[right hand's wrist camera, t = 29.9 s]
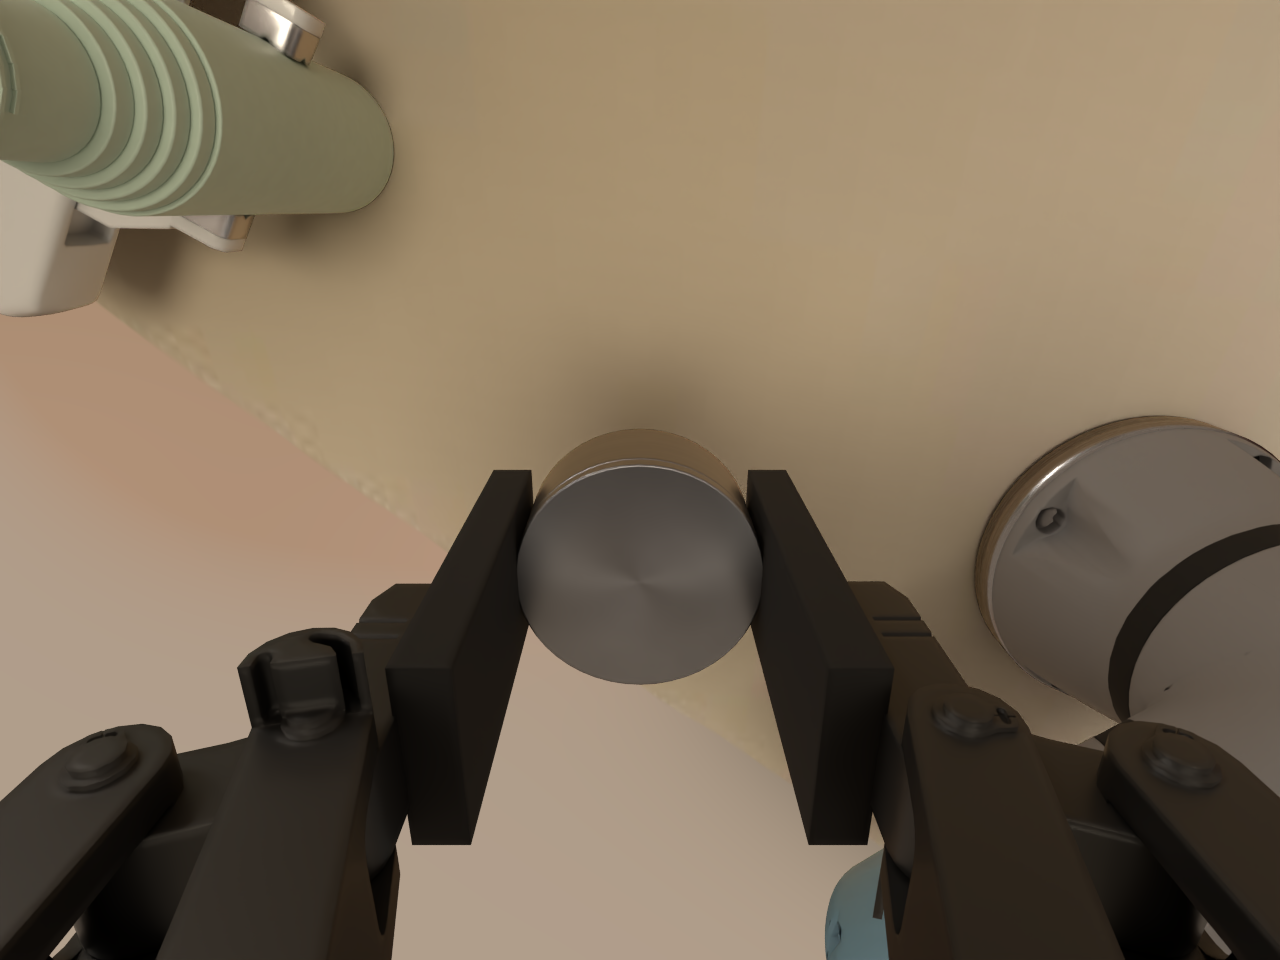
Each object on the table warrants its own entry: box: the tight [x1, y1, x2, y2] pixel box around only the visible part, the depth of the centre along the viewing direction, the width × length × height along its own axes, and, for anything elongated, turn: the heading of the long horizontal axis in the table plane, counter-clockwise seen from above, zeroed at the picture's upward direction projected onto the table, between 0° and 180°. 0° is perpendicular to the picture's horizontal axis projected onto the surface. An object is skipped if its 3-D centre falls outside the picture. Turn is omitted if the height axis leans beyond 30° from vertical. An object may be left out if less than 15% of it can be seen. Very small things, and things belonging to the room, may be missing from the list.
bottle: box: [0, 0, 394, 217], centre depth 22 cm, size 6×6×19 cm
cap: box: [517, 429, 763, 685], centre depth 14 cm, size 4×4×2 cm
